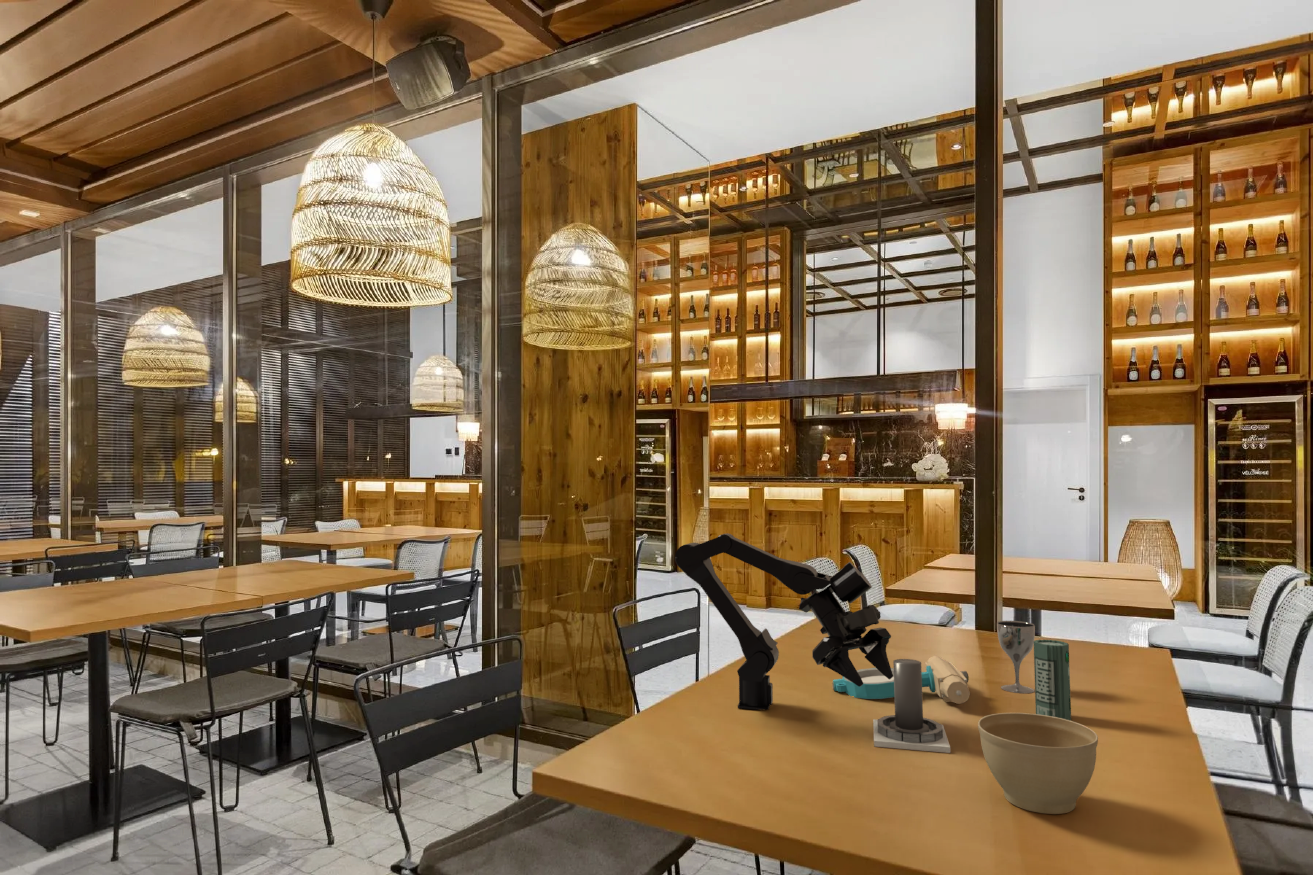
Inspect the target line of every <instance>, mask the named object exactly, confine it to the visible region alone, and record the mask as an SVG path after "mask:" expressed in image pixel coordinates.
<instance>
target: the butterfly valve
mask: <svg viewBox="0 0 1313 875" xmlns="http://www.w3.org/2000/svg"><path fill="white" fill-rule="evenodd" d="M924 663H925V671H922V688H928V689H929V690H930V692H931V693H936V694H937V695H938V696H939V698H941V699H943V701H944V702H945V703H948V702H949V703H950V702H952V703H954V704H955V703H956V705H957V704H959V705H960V704H964V703H965V702H967V701H968V700H969V698H970V695H971V692H970V690H969V687H968V686H969V685H968V683H969V680H970V679H969V678H970V677H969V673H968V672H967V671H966V670H961V671H960V670H959V668H957V667H956V666H955V665H954V664H953V662H951V661H947V660H946V659H944V658H942V657H941V656H938V655H933V656H931V657H929V658H928V659H927V661H925V662H924ZM856 670H857V672H858V674H859V675H860V677H861V679H862V681H863V685H862V686H861V687H859V686H857V685H856V684H854V683H853V682H851V681H849V680H848V679H846V678H845V677H843V676H842V678H837V679H833V680H832V682H831V684H832V686H831V687H832V690H834V692H835V691H838V692H840V693H842V692H843V693H845V694H847V695H848V696H849V695H850V697H852V696H854V697H853V698H855V699H857V698H858V699H867V700H882V699H891V698H894V667H893V668H892V667H891V671H892V674H893V677H892V678H891V679H888V678H887V677H885V676H884V675H883V674H882V673H881V672H880V671H879V670H878V669H877V668H876V667H872V668H861V669H856Z"/></svg>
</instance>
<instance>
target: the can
mask: <svg viewBox="0 0 1313 875" xmlns="http://www.w3.org/2000/svg"><path fill="white" fill-rule="evenodd" d="M1069 645H1070V644H1069V643H1067V642H1065V641H1061V640H1056V639H1037V640H1036V639H1034V644H1033V663H1034V665H1033V666H1034V667H1033V668H1034V687H1035V688H1034V690H1035V692H1034V695H1035V696H1034V697H1035V714H1039V715H1046V716H1052V717H1057V718H1062V719H1066V720H1070V721H1072V705H1071V703H1072V699H1071V697H1072V696H1071V675H1070V674H1071V672H1070V646H1069Z"/></svg>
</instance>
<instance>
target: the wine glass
mask: <svg viewBox="0 0 1313 875" xmlns="http://www.w3.org/2000/svg"><path fill="white" fill-rule="evenodd" d="M1035 627H1036V626H1035V624H1034V623H1032V622H1027V621H1021V620H1019V621H1018V620H999V621H997V622H996V630H997V633H996V634H997V639H998V642H999V645H1000V648H1001V649H1002V651H1004V652H1005V654H1006V655H1007V656H1008V657H1009V658H1010V660H1011V662H1012V665H1013V667H1014V668H1013V669H1014V674H1015V675H1014V676H1015V677H1014V678H1015V680H1014V681H1015V682H1014V683H1013V684H1005V685H1001V686H1000V689H1001V690H1003V691H1006V692H1009V693H1014V694H1032V693H1035V688H1031V687H1029V686H1025V685H1022V684H1021V683H1020V670H1021V669H1020V668H1021V664H1022V662H1023V660H1024V659H1025V658H1026V657H1027V656H1028V655H1029V654H1031V652H1032V650H1033V649H1034V641H1035V639H1036V638H1035V637H1036V636H1035V635H1036V633H1035V632H1036V630H1035V629H1036V628H1035Z"/></svg>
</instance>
